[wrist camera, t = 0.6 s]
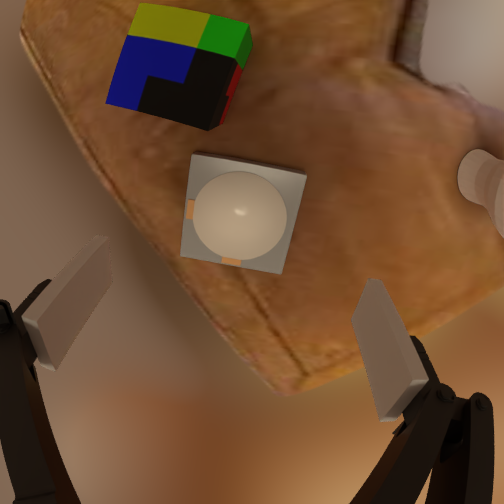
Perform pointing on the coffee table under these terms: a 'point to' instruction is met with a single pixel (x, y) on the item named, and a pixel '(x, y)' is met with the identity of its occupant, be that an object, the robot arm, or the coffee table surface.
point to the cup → (484, 184)
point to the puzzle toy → (180, 65)
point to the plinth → (240, 211)
